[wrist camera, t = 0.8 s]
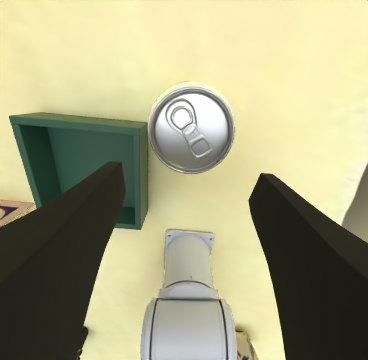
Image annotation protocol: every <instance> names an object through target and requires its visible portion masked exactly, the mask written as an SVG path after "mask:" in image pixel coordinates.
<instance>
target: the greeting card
mask: <svg viewBox="0 0 368 360" xmlns="http://www.w3.org/2000/svg"><path fill="white" fill-rule="evenodd" d="M33 204H34V203H25V202H15V201H4V200H0V227H1V226H2V225H4V224H5V223H7V222H8V221H10V220H11V219H13V218H14V217H15V216H17V215H18V214H20V213H21V212H23V211H24V210H26V209H27V208H28V207H30V206H31V205H33Z"/></svg>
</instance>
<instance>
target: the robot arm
mask: <svg viewBox="0 0 368 360" xmlns="http://www.w3.org/2000/svg"><path fill="white" fill-rule="evenodd" d="M125 195H126V186H125V180H124V173H123V167H122V162H117V161H109V162H107V163H106V164H104V165H103V166H101V167H100V168H99V169H97V170H96V171H95V172H93V173H92V174H90V175H89V176H88V177H86V178H85V179H83V180H82V181H81V182H79V183H78V184H76V185H75V186H73V187H72V188H70V189H69V190H67V191H66V192H64V193H63V194H61V195H59V196H58V197H56V198H55V199H53V200H51V201H50V202H48V203H46V204H45V205H43V206H41V207H39V208H37V209H36V210H34V211H32V212H30V213H28V214H26V215H24V216H22V217H20V218H18V219H16V220H14V221H12V222H10V223H8V224H6V225H4V226H2V227H0V360H76V356H77V351H78V347H79V343H80V338H81V334H82V330H83V325H84V321H85V317H86V314H87V310H88V306H89V302H90V298H91V294H92V291H93V287H94V284H95V280H96V277H97V273H98V270H99V267H100V263H101V260H102V257H103V254H104V251H105V248H106V246H107V243H108V241H109V239H110V236H111V234H112V231H113V229H114V227H115V224H116V222H117V219H118V217H119V214H120V212H121V209H122V206H123V203H124V199H125ZM248 201H249V206H250V212H251V216H252V220H253V223H254V226H255V229H256V231H257V234H258V237H259V240H260V243H261V246H262V248H263V251H264V254H265V257H266V260H267V264H268V267H269V272H270V276H271V280H272V284H273V289H274V293H275V298H276V303H277V308H278V313H279V319H280V325H281V330H282V337H283V344H284V351H285V358H286V360H368V243H367V242H365V241H363V240H362V239H360V238H359V237H357V236H356V235H354V234H352V233H351V232H349V231H348V230H346V229H345V228H343V227H342V226H340V225H339V224H337V223H336V222H334V221H333V220H331V219H330V218H329V217H327V216H326V215H325V214H323V213H322V212H320V211H319V210H318V209H316V208H315V207H314V206H313V205H311V204H310V203H309V202H307V201H306V200H305V199H304V198H302V197H301V196H300V195H299V194H297V193H296V192H295V191H294V190H292V189H291V188H290V187H289V186H287V185H286V184H285V183H284V182H282V181H281V180H280V179H279V178H277V177H276V176H274V175H273V174H265V173H261V174H260V176H259V178H258V181H257V183H256V185H255V187H254V189H253V192H252V194H251V196H250V198H249V200H248ZM168 234H170V235H168ZM210 238H211V239H210ZM213 239H214V234H213V233H205V232H193V231H181V230H167V231H166V245H165V261H164V270H165V272H164V279H163V287H162V289H160V290H159V297H158V298H153V299H152V300H151V302H150V303H149V304H148V305H147V308H146V311H145V315H144V321H143V327H142V335H141V360H237V341H236V332H235V325H234V320H233V315H232V311H231V308H230V306H229V305H228V304H227V303H226V301H225V300H224V299H219V298H218V291H217V290H216V289H214V283H213V276H212V269H211V262H210V253H211V249H212V244H213Z"/></svg>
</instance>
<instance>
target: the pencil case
mask: <svg viewBox="0 0 368 360" xmlns="http://www.w3.org/2000/svg"><path fill="white" fill-rule="evenodd" d="M236 341H237V360H258V357H257V355H256V353H255V350H254V348H253V346H252V344H251V342H250V339H249V337H248V336H247V334H246V333H244V332H236Z"/></svg>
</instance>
